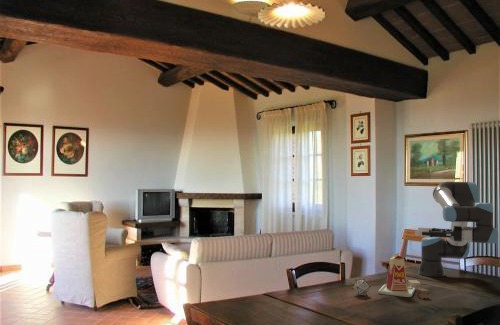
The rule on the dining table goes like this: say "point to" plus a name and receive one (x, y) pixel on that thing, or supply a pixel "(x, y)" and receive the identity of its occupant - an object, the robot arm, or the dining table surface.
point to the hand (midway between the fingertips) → (416, 231)
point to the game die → (361, 287)
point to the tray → (384, 291)
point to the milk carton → (397, 275)
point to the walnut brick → (422, 293)
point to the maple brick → (414, 284)
